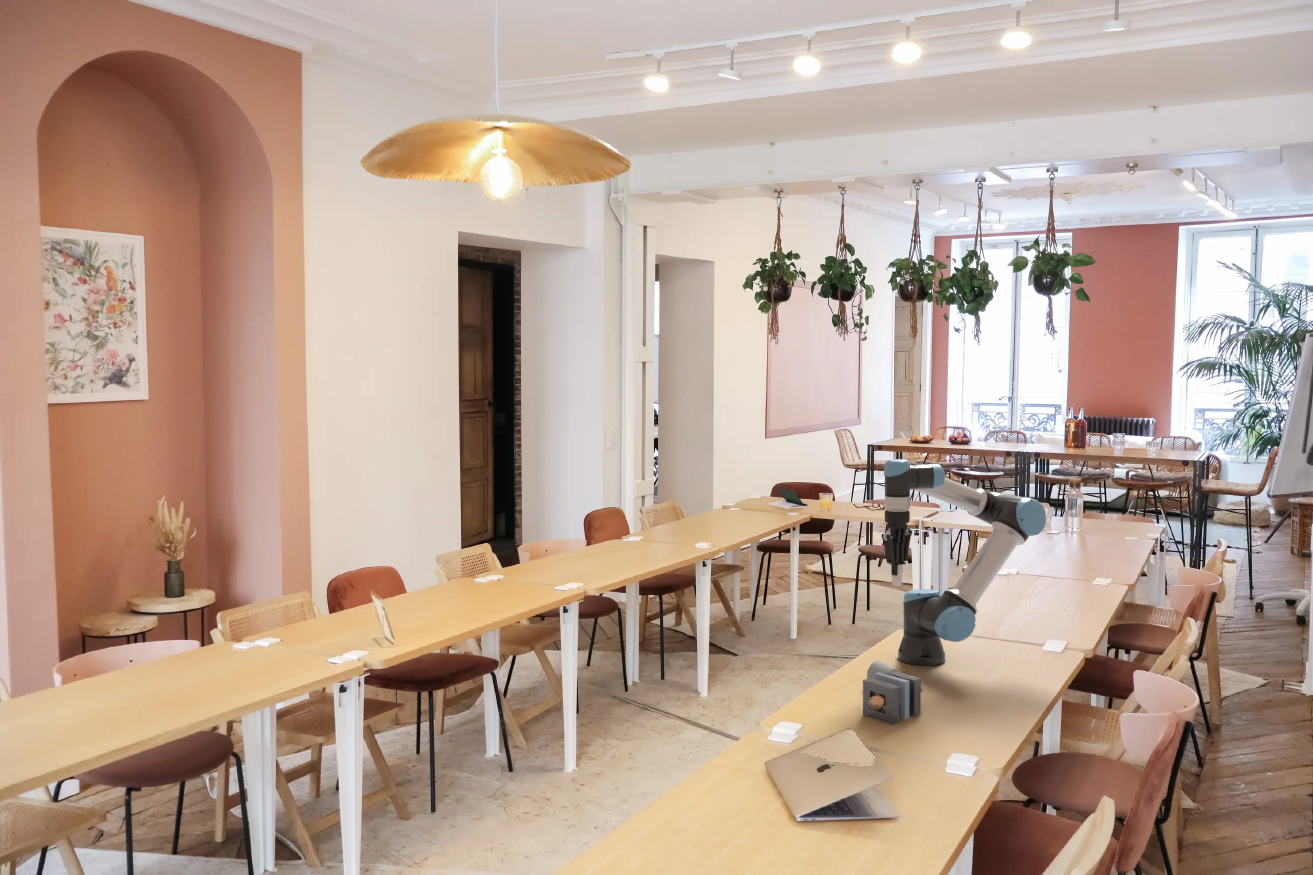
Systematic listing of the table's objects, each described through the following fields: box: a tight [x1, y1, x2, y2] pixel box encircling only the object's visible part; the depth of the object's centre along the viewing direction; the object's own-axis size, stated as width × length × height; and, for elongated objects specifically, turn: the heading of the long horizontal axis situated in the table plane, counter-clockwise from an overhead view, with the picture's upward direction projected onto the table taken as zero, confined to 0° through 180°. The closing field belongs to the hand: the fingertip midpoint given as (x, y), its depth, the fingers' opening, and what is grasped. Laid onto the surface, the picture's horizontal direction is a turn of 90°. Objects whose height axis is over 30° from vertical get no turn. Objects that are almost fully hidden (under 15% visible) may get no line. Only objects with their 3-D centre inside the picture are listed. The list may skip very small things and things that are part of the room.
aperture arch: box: [875, 672, 910, 721], centre depth 274 cm, size 2×10×11 cm, turn 40°
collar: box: [862, 678, 900, 725], centre depth 271 cm, size 3×10×10 cm, turn 40°
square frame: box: [885, 670, 922, 717], centre depth 277 cm, size 3×10×10 cm, turn 40°
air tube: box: [869, 685, 923, 710], centre depth 275 cm, size 20×4×4 cm, turn 130°
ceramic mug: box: [866, 660, 902, 679], centre depth 296 cm, size 11×8×8 cm
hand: (896, 585), depth 303 cm, fingers closed
